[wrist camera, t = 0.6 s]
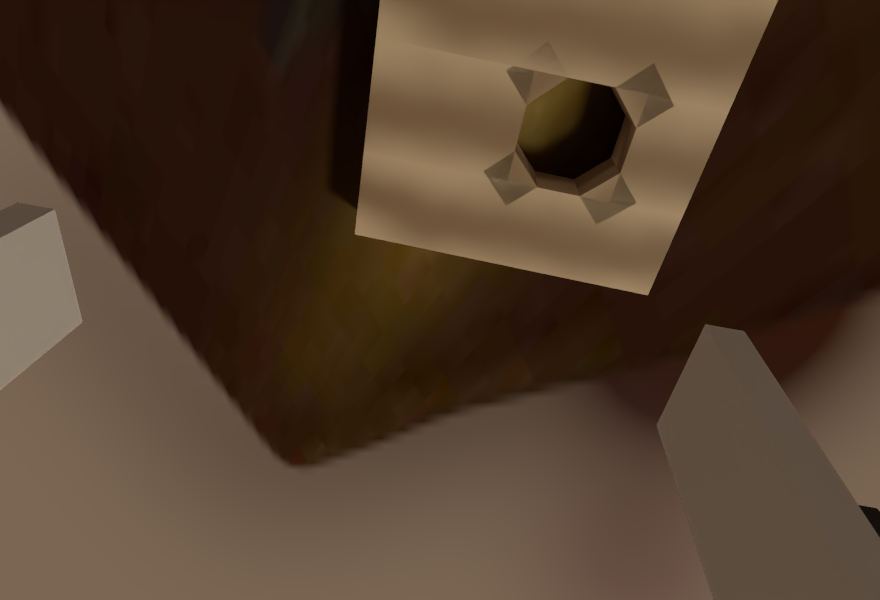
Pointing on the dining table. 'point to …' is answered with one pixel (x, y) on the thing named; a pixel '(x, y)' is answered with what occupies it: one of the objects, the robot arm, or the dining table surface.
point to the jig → (501, 113)
